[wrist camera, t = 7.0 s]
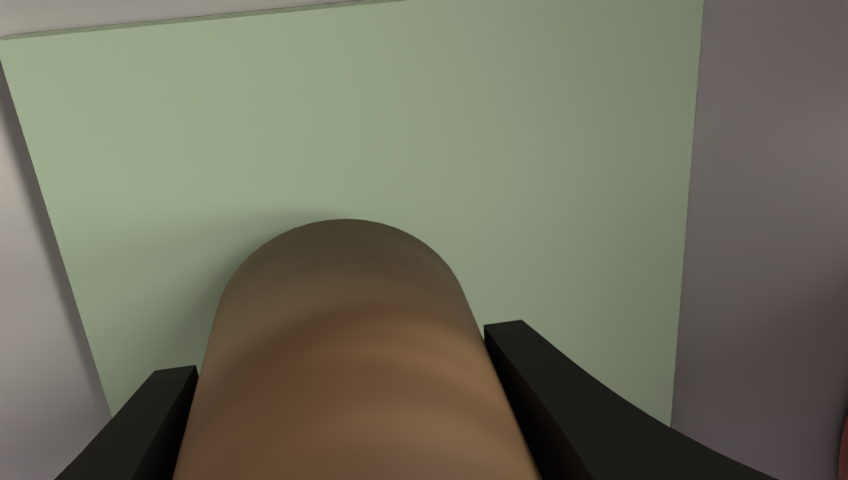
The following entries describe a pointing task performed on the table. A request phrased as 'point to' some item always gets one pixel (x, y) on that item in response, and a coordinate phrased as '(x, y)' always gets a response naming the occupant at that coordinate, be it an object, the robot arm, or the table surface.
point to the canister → (843, 454)
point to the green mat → (375, 164)
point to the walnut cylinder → (349, 368)
